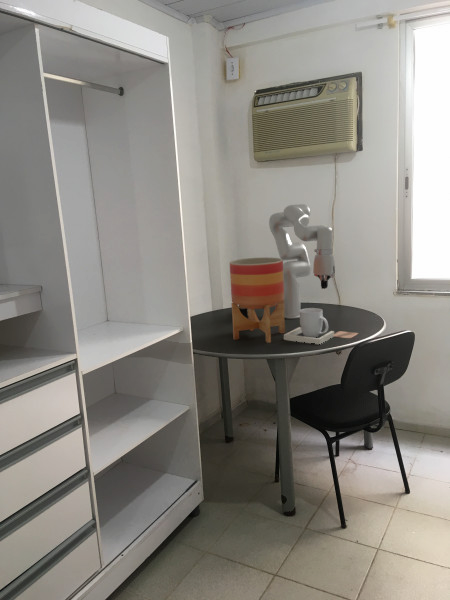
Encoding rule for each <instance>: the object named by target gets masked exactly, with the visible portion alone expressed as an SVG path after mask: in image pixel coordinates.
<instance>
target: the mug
mask: <svg viewBox="0 0 450 600" xmlns="http://www.w3.org/2000/svg"><path fill="white" fill-rule="evenodd" d="M299 312H300V318H299V327H301V330H302V333H301V334H302V336H305V337H313V338H316V337H317V338H319V336H320V335H325V334H327V333H328V332H329V323H328V320H327V319H326V318H325V317H324V315H323V313H324V312H323V309H322V308H315V307H308V308H302V309H301V310H300V311H299ZM323 323H324V325H325V329H324V330H322V329H323Z"/></svg>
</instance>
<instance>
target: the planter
mask: <svg viewBox="0 0 450 600" xmlns="http://www.w3.org/2000/svg"><path fill="white" fill-rule="evenodd" d="M283 264H284V260H282V259H281V258H279V257H267V256H265V257H249V258H239V259H235V260H231V261H230V262H229V275H230V276H229V277H230V296H231V314H232V315H231V316H232V335H233V338H232V339H233V340H236V341H237V340H240V331H247V330H249V331H250V332H253V331H254V330H256V329H259V330H260V331H261V332H263V333H265V342H266V343H268V344H269V343H272V335H271V334H272V333H271V331H272V330H271V327H277V326H278V332H279V333H280V334H286V324H285V322H286V321H285V318H284V279H283ZM239 307H242V308H247V309H248V315H249V317H248V319H247V318H246V317H244V316H243V315H242V313H241V312H240V310H239ZM273 307H275V308H274V309H273V311H272V312H270V311H271V309H270V308H273ZM259 309H263V314H262V315H263V316H262V318H261V320H260V319H259V318H258V316H257V313H256V311H255V310H259Z"/></svg>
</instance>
